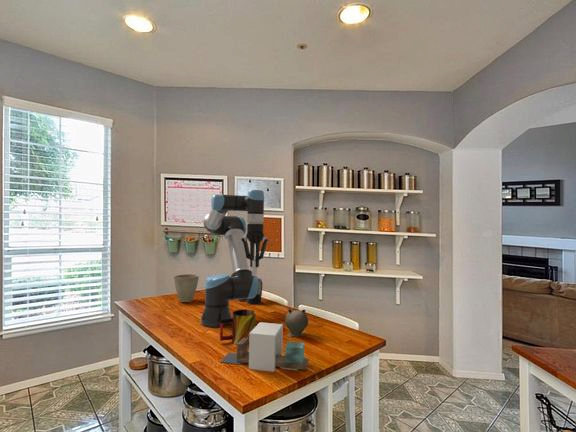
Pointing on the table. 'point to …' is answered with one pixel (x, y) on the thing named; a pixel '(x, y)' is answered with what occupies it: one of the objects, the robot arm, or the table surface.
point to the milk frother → (258, 297)
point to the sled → (290, 360)
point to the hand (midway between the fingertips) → (254, 274)
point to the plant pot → (186, 286)
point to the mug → (239, 325)
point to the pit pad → (231, 359)
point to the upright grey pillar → (265, 346)
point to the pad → (288, 368)
